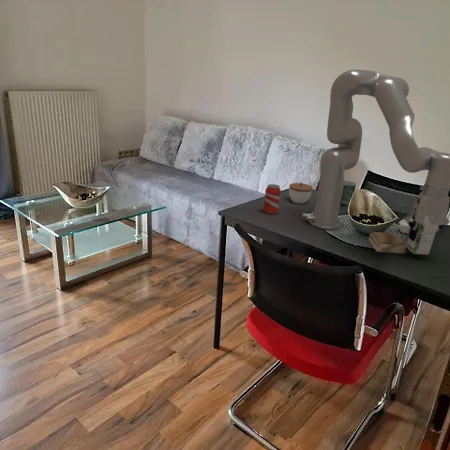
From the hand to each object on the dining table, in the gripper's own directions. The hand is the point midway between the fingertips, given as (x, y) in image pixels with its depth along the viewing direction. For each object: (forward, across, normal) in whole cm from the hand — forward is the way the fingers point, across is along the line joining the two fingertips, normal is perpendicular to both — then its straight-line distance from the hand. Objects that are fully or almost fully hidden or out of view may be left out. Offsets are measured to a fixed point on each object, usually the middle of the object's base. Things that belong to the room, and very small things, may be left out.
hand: (420, 239), depth 138 cm
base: (+7, -8, +7) cm, 13 cm away
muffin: (+7, +7, +22) cm, 24 cm away
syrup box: (+5, 0, 0) cm, 5 cm away
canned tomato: (+8, -9, +53) cm, 55 cm away
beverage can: (+9, -46, +38) cm, 61 cm away
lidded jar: (+9, -30, +55) cm, 64 cm away
